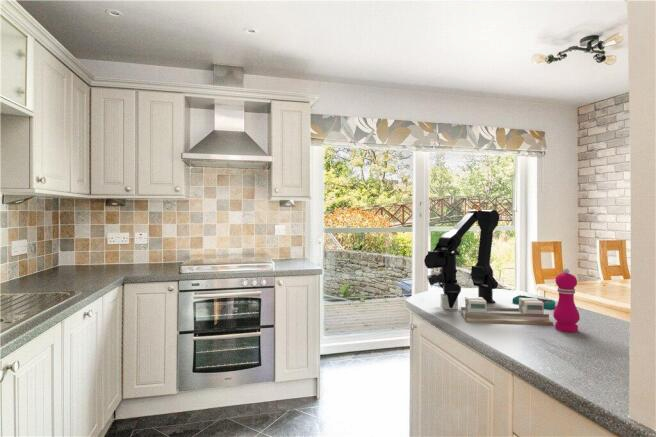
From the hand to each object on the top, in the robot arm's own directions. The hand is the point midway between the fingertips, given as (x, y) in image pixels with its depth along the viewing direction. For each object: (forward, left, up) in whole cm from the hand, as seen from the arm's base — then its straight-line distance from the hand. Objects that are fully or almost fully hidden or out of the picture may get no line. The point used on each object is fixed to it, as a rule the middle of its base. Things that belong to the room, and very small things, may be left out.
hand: (449, 304), depth 151 cm
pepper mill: (+25, +33, -1) cm, 41 cm away
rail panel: (+13, +17, -1) cm, 21 cm away
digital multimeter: (-8, +35, -2) cm, 36 cm away
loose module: (0, 0, -1) cm, 1 cm away
